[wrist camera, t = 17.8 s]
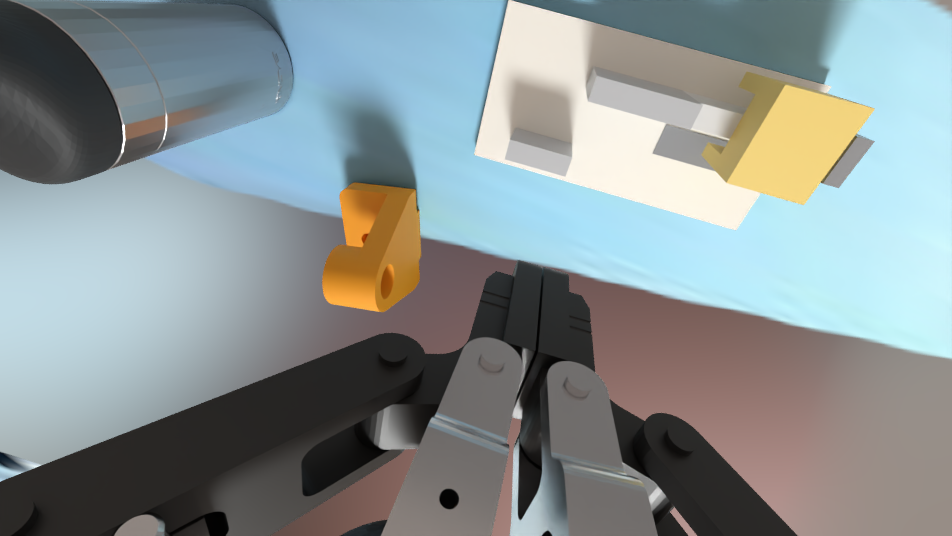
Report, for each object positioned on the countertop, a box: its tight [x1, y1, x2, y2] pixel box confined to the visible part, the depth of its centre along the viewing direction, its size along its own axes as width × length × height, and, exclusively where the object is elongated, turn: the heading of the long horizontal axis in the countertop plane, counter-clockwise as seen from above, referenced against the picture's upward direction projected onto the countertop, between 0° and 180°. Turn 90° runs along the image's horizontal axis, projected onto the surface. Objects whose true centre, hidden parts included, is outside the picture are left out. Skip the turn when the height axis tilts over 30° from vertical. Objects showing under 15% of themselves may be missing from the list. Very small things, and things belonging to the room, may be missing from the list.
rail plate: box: [474, 0, 875, 230], centre depth 30 cm, size 24×12×8 cm, turn 77°
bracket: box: [322, 183, 421, 312], centre depth 39 cm, size 11×7×12 cm, turn 178°
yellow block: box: [701, 72, 874, 205], centre depth 27 cm, size 5×6×6 cm
